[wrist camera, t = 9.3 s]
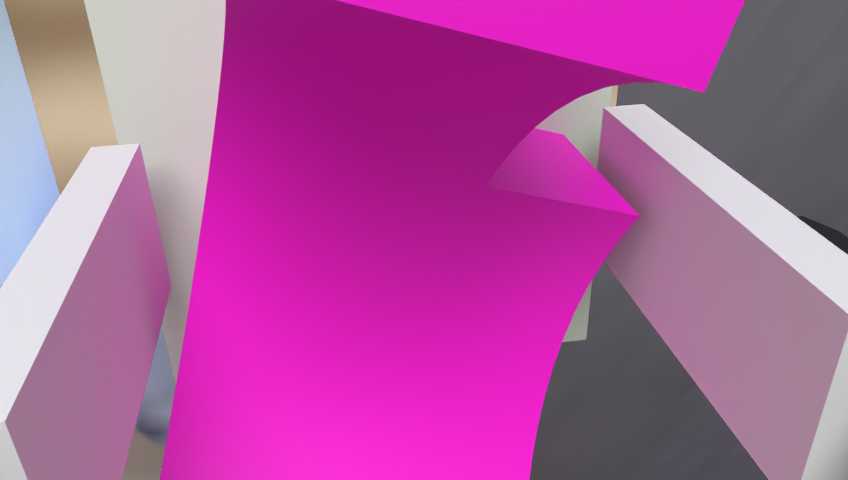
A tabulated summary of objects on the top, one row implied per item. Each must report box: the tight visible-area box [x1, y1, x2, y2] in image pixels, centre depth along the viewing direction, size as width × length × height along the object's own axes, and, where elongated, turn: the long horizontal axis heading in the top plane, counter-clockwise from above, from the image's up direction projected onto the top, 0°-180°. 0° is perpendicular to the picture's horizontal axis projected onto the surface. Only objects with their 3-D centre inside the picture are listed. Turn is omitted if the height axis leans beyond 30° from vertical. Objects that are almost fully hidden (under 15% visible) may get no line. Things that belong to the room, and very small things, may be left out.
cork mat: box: [4, 0, 618, 195], centre depth 24 cm, size 20×20×1 cm
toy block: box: [160, 0, 745, 480], centre depth 11 cm, size 15×6×8 cm, turn 165°
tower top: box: [84, 0, 612, 383], centre depth 16 cm, size 9×9×6 cm
